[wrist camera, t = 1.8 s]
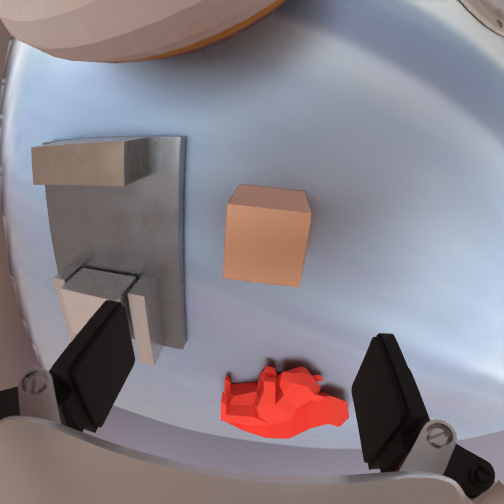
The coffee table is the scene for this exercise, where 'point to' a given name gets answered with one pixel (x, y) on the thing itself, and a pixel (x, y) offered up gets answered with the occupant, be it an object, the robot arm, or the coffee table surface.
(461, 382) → the coffee table surface
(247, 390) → the animal figurine
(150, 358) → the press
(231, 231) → the block
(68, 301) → the light grey sliding block
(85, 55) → the jug
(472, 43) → the coffee table surface
